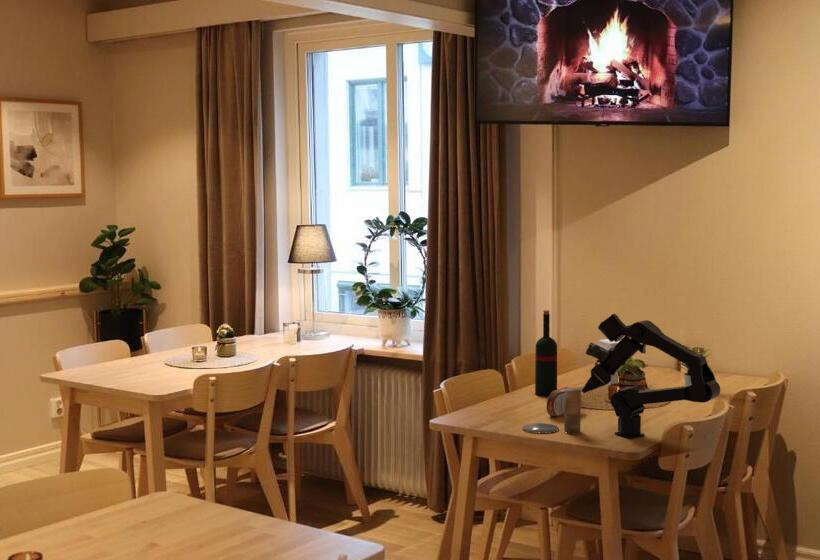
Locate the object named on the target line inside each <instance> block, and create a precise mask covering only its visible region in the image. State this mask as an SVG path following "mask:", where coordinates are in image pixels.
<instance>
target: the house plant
mask: <svg viewBox="0 0 820 560" xmlns="http://www.w3.org/2000/svg"><path fill="white" fill-rule="evenodd" d="M691 350H693V351H694V352H696V351H695V349H693V348H691ZM709 350H711V349H705V350H704V351H702V352H700V353H699V354H701V355H703V356H704V357H705V358H706V359H707V357H708V356H709V355H712V354H714V352H712V353H708V354H707V355H706V353H707V352H708V351H709ZM706 361H707V360H706ZM708 362H710V361H707V363H708ZM678 364H680V365H681V366H679V367H678V369H684V370H685V371H686V372H684V373H683V380H684V381H683V382H684V386H688V385H691V378H690V370H689V367H688V366H687V365H686V364H684V363H682V362H678ZM682 366H683V367H682ZM708 366H709V367H710V369H711V370H712V368H711V366H710V365H708ZM684 367H685V368H684Z"/></svg>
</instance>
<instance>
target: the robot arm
mask: <svg viewBox="0 0 820 560" xmlns="http://www.w3.org/2000/svg"><path fill="white" fill-rule="evenodd" d="M597 329H598V331H600V332H601V334H603V335H604V337H606V339H608V340H609V341H610V342H613V341H615V342H618V341H619V342H618V343H617V344H616V345H615V346H614V347H613V348H610V349H609V350H606V349H604V348H602V347H600V346H599V344H596V343H594V342H589V344H588V347H587V348H586V351H585V354H586V355H587V356H591V357H592V358H595V359H596V361H595V362H594V366H593V367H592V368H591V369H590V377H589V378H588V380H587V382H586V383H585V384H584V386H583V388H582V389H581V393H583V394H586V393H588V392H592V391H593V390H596V389H598V388H601V387H604V386H608V385H609V384H608V383H609V382H610V381H611V380H612V375H614V374H615V373H616V371H617V370H619V369H620V368H621V367H622V366H623V365H624V366H625V365H626V363H627V362H628V361H629V360H630V359H631V358H632V357H633V356H635V354H636V353H638V352H640V354H645V355H646V353H647V352H646V351H647V350H646V347H647V346H649V347H653V348H656V349H658V350H660V351H661V352H663V353H664V354H667V355H668V356H670V357H672V358H674V359H675V360H677V361H678V362H679V363H683V364H686V365H687V366H688V367H689V370H690V378H691V385H688V386H685V385H683V386H674V387H666V388H658V389H647V390H644V389H640V387H639V385H634V386H629V385H627V386H624V387H621V388H619V389H617V391H616V392H614V393H612V395H611V397H610V404H611V406H612V407H613V411H614V414H615V416H616V417H617V431H615V432H614V435H617V436H621V437H623V438H626V439H631V438H632V439H633V438H639V437H644V436H645V435H646V434H645V433H643V432H641V431H642V430H641V429H642V427H641V426H642V425H641V424H642V416H641V414H644V411H645V408H646V407H645V405H649V404H658V403H660V404H661V403H668V402H677V401H688V402H693V403H701V404H702V403H707V402H710V401H712V400H714V399H716V398H719V395H720V394H721V386H720V384H719V382H718V381H717V380H716V377H715V374H714V372H713V371H712V368H711V366H710V365H709V364H708V362H707V357H706V358H705V357H704V356H705V355H701V354H702V353H701V354H700V353H699V352H698V353H697V352H696V351H695V350H694V351H695V352H694V351H693V350H692V348H691V349H690V348H689V347H688V346H685V345H683V344H682V343H681V342H678V341H676V340H675V339H673V338H671V337H670V336H668V335H666V334H664V332H662V330H661V329H660V327H658V326H657V325H656V324H655V323H653V322H652V321H650V320H649V319H648V320H647V319H643V320H639V321H636V322H634V323H633V324H630V325H626V324H625V323H624V322H623V320H621V319H620V317H619V316H618V315H617V313H612V314H610V316H608V317H607V318H605V320H603V321H601V322H600V324H599V325H598V328H597ZM598 362H599V364H598ZM709 366H710V367H709ZM710 368H711V369H710Z"/></svg>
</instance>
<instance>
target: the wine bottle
mask: <svg viewBox="0 0 820 560" xmlns="http://www.w3.org/2000/svg"><path fill="white" fill-rule="evenodd" d="M542 315H543V317H542V319H543V320H542V321H543V323H542V327H543V330H542V337H540V338H539V339H538V340H537V341H536V342H535V343H536V344H535V367H534V368H535V371H534V374H535V375H534V376H535V377H534V378H535V379H534V382H535V383H534V396H537V397H541V398H542V397H543V398H544V397H545V398H548V397H549V395H550V394H551V392H552V391H554V390H557V389H558V344H557V342H556V340H555V339H553V337H551V336H550V332H551V331H550V330H551V329H550V317H551V316H550V309H549V310H543V314H542Z"/></svg>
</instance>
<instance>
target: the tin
mask: <svg viewBox="0 0 820 560" xmlns="http://www.w3.org/2000/svg"><path fill="white" fill-rule="evenodd" d="M569 388H570V387H568V386H565V387H561V388H559V389H558V388H557V390H554V391H552V392H551V394H550V395H549V397H547V400H546V412H547V415H549V416H552V417H557V418H558V417H560V416H564V411H565V389H569Z"/></svg>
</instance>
